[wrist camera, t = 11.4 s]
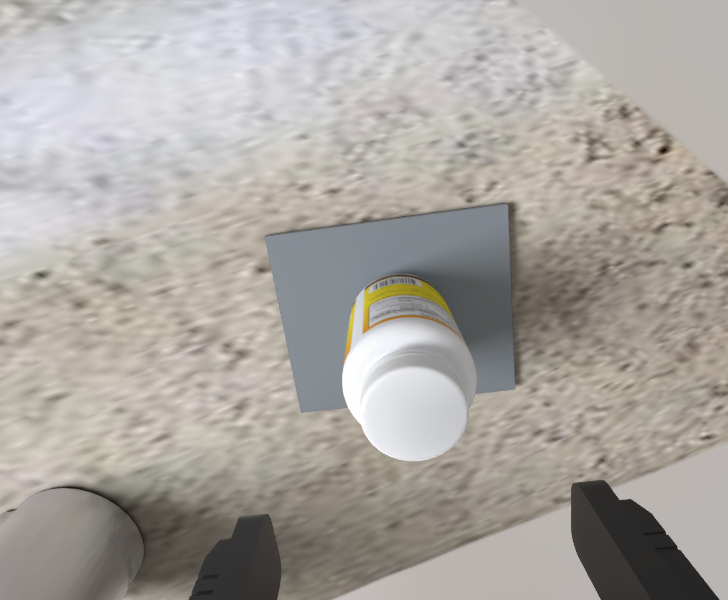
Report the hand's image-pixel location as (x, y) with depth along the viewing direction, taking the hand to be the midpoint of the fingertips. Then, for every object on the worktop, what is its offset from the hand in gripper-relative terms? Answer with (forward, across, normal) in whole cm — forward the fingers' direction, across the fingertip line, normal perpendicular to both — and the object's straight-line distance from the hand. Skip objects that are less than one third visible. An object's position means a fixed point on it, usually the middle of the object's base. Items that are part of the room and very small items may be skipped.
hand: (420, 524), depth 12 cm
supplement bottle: (+15, 0, 0) cm, 15 cm away
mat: (+15, 0, 0) cm, 15 cm away
